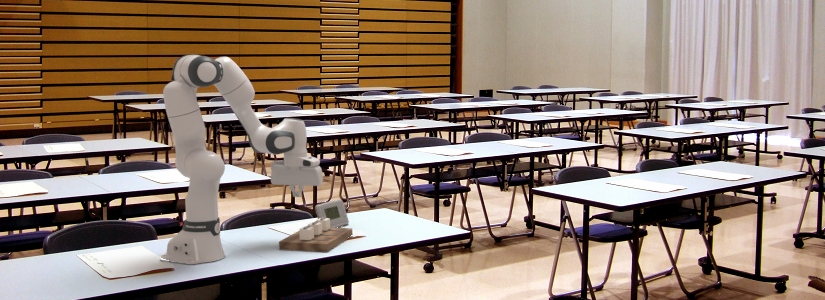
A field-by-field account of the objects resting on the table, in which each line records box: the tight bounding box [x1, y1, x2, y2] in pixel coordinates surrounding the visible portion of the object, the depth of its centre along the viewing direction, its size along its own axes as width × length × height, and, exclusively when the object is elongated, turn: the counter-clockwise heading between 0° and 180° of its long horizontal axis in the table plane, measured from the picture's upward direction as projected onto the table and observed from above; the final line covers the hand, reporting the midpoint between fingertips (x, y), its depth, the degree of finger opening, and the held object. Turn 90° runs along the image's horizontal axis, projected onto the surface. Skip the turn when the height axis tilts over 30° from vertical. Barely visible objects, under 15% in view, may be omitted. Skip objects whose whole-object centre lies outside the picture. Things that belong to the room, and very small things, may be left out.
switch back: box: [315, 217, 330, 231], centre depth 327 cm, size 4×4×5 cm
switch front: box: [298, 224, 314, 240], centre depth 311 cm, size 4×4×5 cm
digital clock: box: [314, 198, 350, 228], centre depth 345 cm, size 16×9×11 cm, turn 133°
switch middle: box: [307, 220, 322, 235], centre depth 319 cm, size 4×4×5 cm
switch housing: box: [278, 227, 354, 253], centre depth 319 cm, size 19×26×3 cm
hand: (297, 196), depth 320 cm, fingers closed
